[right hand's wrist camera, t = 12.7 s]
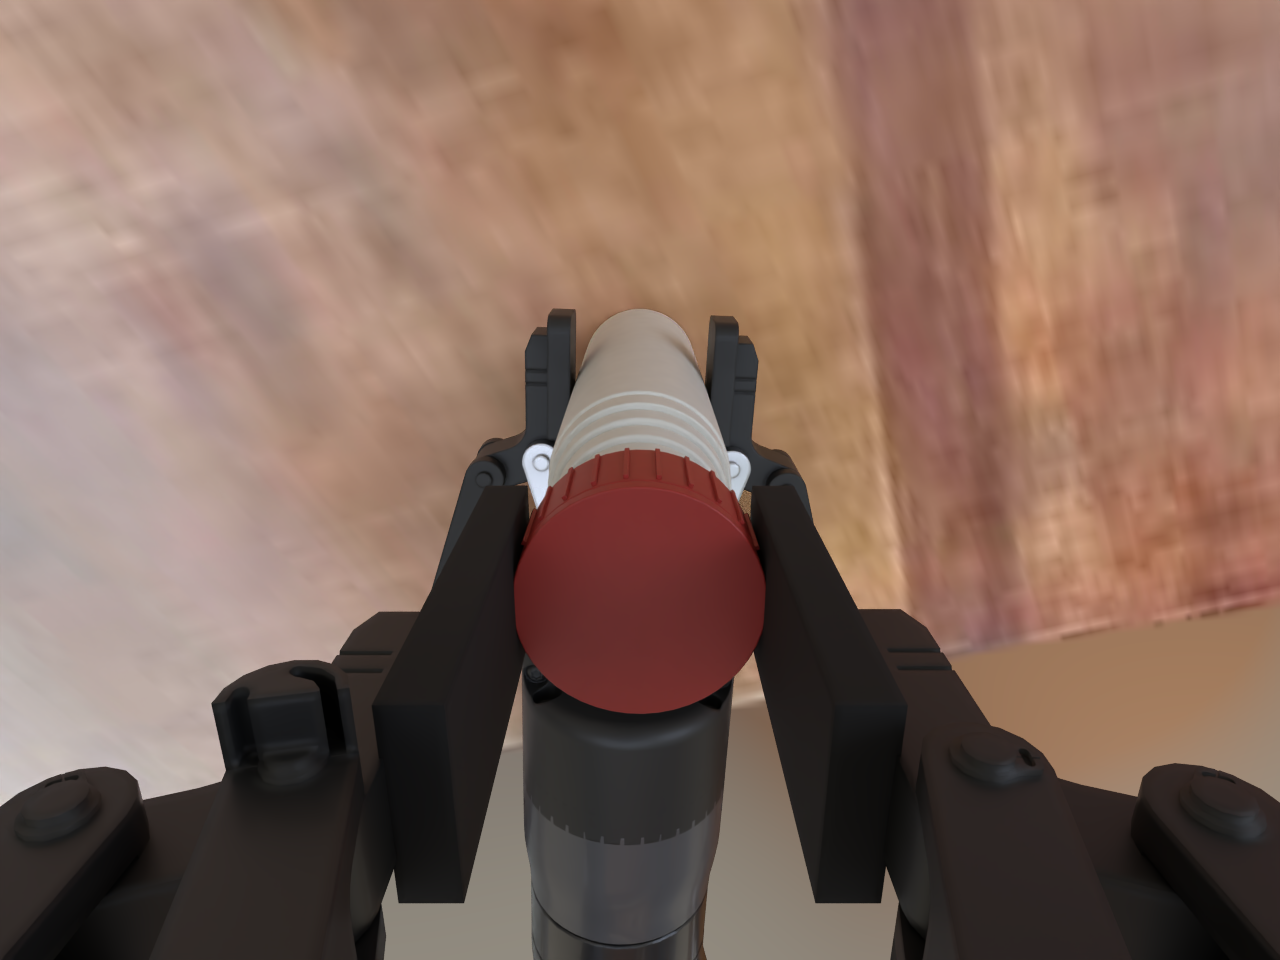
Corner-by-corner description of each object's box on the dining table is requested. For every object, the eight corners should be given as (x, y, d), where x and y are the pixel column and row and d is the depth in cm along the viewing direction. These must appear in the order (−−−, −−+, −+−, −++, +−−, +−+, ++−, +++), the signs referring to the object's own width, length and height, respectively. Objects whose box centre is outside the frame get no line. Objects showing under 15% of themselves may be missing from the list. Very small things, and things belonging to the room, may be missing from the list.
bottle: (604, 429, 32) (559, 727, 14) (570, 326, 30) (474, 516, 13) (706, 399, 31) (792, 669, 14) (677, 294, 30) (731, 443, 12)
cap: (566, 678, 16) (556, 742, 14) (490, 482, 14) (468, 525, 12) (778, 623, 15) (796, 683, 13) (721, 416, 14) (734, 450, 12)
